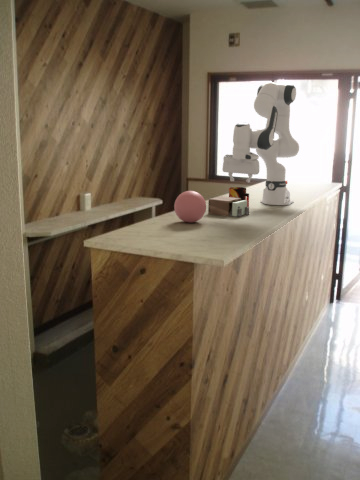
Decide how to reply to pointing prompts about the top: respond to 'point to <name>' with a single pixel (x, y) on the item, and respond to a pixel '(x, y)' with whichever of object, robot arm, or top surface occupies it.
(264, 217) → the top surface
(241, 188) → the mug
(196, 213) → the balloon
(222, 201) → the cabinet
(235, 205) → the door
